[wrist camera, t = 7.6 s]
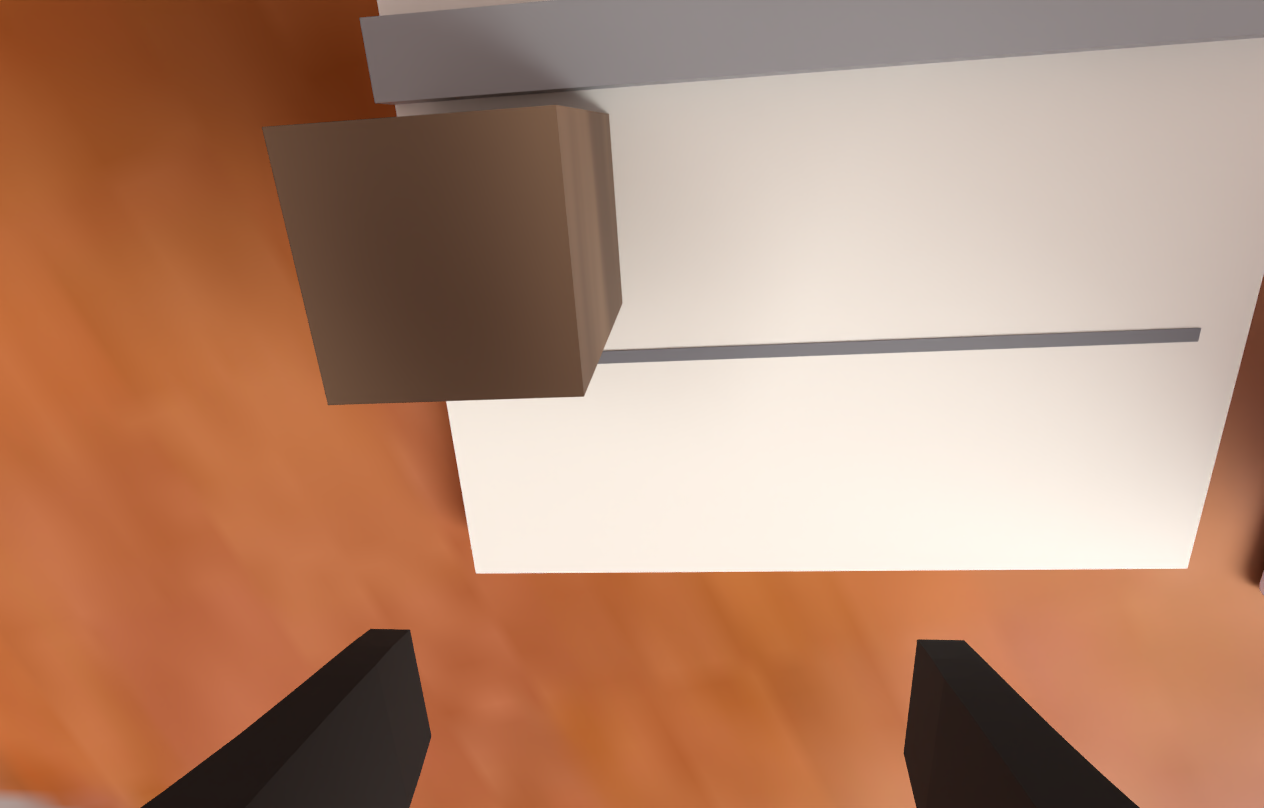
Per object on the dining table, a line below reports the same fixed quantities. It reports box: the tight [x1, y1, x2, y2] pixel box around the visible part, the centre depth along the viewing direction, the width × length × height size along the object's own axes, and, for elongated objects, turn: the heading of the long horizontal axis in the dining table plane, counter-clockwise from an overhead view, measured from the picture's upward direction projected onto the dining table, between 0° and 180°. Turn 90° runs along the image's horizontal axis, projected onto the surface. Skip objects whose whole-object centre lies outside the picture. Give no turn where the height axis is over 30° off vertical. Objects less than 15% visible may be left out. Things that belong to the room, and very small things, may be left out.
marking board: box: [359, 0, 1264, 573], centre depth 16 cm, size 18×14×2 cm
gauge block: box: [262, 105, 622, 405], centre depth 13 cm, size 4×4×6 cm
